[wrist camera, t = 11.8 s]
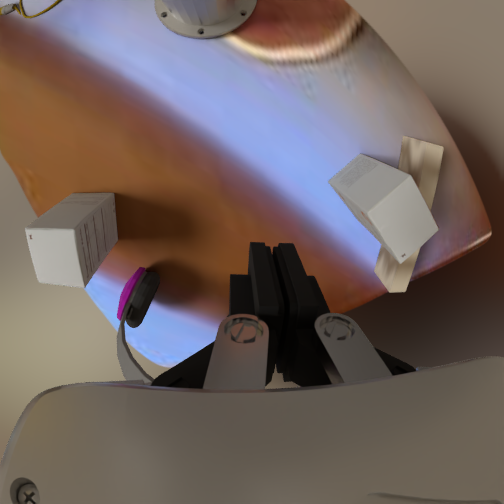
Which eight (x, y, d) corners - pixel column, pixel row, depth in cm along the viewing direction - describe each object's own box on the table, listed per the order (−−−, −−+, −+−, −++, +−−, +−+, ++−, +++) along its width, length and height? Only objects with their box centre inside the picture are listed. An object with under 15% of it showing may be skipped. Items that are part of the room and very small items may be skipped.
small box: (389, 194, 39) (440, 230, 27) (357, 221, 40) (400, 266, 29) (360, 151, 36) (412, 173, 24) (325, 180, 37) (365, 214, 26)
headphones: (263, 304, 46) (279, 412, 29) (237, 339, 50) (242, 441, 32) (139, 251, 41) (89, 351, 23) (124, 294, 44) (82, 392, 26)
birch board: (403, 135, 35) (427, 142, 29) (419, 139, 35) (443, 147, 30) (374, 271, 45) (389, 292, 39) (389, 271, 45) (405, 291, 40)
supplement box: (77, 238, 39) (36, 283, 28) (72, 191, 35) (22, 226, 24) (119, 241, 40) (85, 290, 28) (116, 192, 36) (73, 228, 25)
